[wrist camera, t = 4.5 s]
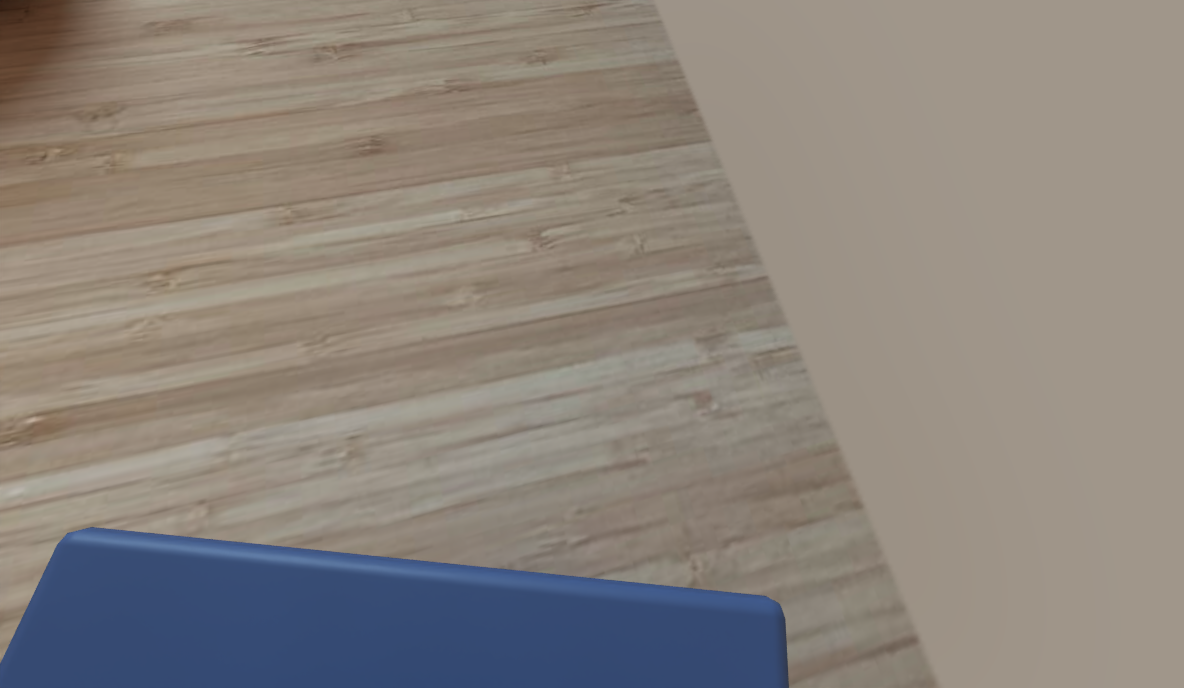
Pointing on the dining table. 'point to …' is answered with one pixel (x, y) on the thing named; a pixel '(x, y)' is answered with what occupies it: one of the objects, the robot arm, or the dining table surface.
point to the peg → (369, 623)
